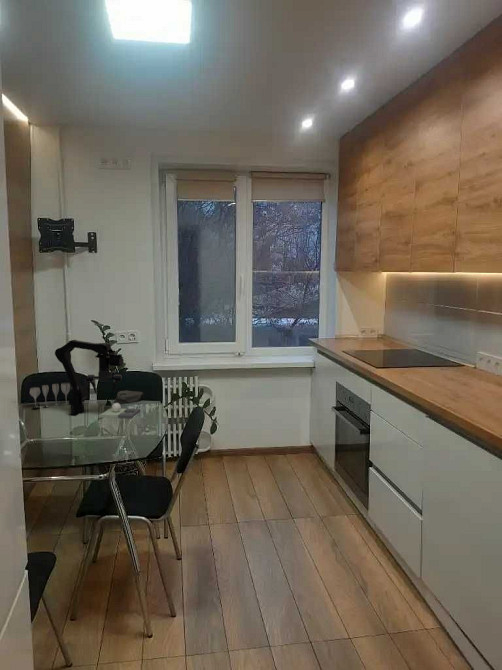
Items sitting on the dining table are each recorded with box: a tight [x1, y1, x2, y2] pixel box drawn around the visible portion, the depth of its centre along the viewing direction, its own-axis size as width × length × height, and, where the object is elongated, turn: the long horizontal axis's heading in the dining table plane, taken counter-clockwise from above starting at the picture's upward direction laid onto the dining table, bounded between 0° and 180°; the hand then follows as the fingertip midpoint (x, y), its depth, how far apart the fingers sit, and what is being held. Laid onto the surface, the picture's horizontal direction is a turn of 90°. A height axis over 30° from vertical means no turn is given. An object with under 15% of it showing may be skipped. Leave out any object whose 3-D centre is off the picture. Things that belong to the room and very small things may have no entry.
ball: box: [111, 402, 122, 412], centre depth 277 cm, size 5×5×5 cm
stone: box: [113, 389, 145, 405], centre depth 301 cm, size 18×9×10 cm
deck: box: [99, 407, 141, 419], centre depth 277 cm, size 18×14×2 cm
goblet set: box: [29, 382, 71, 407], centre depth 296 cm, size 28×6×13 cm, turn 116°
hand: (104, 392), depth 277 cm, fingers open, 9 cm apart
